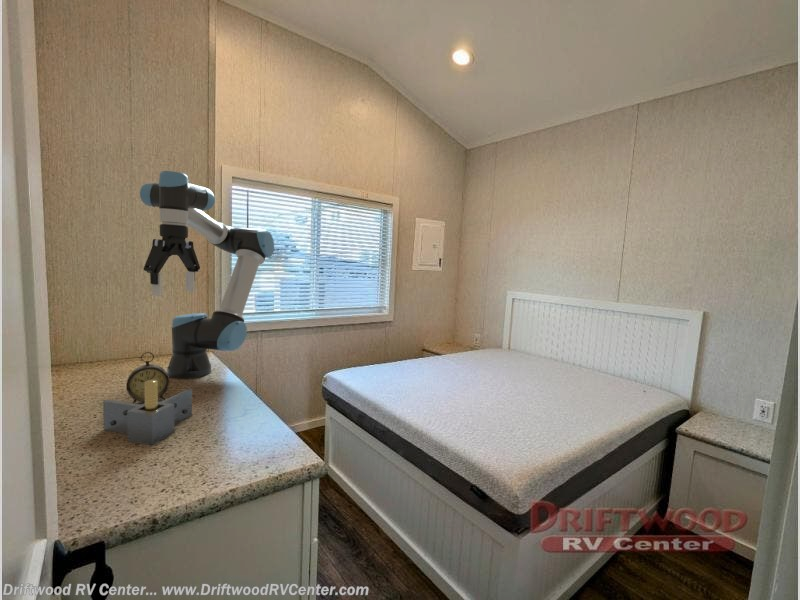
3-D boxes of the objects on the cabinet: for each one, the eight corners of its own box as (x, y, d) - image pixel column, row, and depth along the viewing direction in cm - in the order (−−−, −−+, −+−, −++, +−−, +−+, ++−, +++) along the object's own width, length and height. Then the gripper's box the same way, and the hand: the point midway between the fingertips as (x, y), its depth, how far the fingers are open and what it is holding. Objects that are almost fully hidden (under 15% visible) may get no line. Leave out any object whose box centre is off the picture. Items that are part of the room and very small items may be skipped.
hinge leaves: (149, 408, 115) (148, 383, 114) (201, 416, 112) (201, 390, 111) (93, 435, 97) (92, 405, 96) (152, 445, 94) (152, 414, 94)
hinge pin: (151, 433, 100) (150, 379, 98) (160, 435, 100) (160, 380, 98) (142, 438, 97) (141, 382, 96) (151, 440, 97) (151, 383, 95)
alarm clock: (126, 408, 114) (125, 355, 112) (127, 401, 118) (126, 351, 117) (169, 402, 120) (168, 352, 118) (168, 396, 124) (168, 348, 122)
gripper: (192, 227, 128) (192, 289, 131) (127, 219, 104) (129, 296, 106) (212, 228, 127) (211, 290, 129) (151, 221, 102) (152, 298, 105)
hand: (174, 293), depth 118 cm, fingers open, 13 cm apart
